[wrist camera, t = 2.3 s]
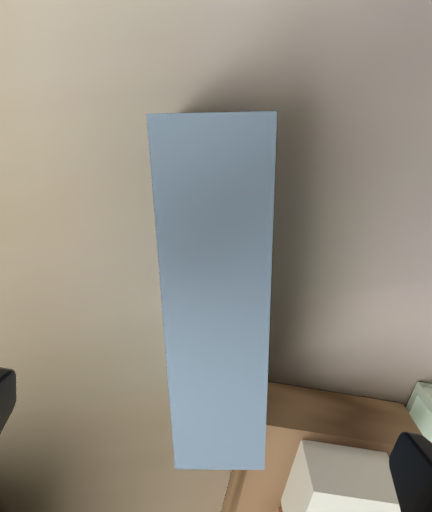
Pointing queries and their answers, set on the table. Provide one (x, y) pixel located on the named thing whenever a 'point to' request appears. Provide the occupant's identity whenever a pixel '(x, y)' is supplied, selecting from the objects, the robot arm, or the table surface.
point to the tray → (422, 408)
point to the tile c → (339, 480)
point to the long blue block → (215, 279)
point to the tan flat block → (312, 437)
